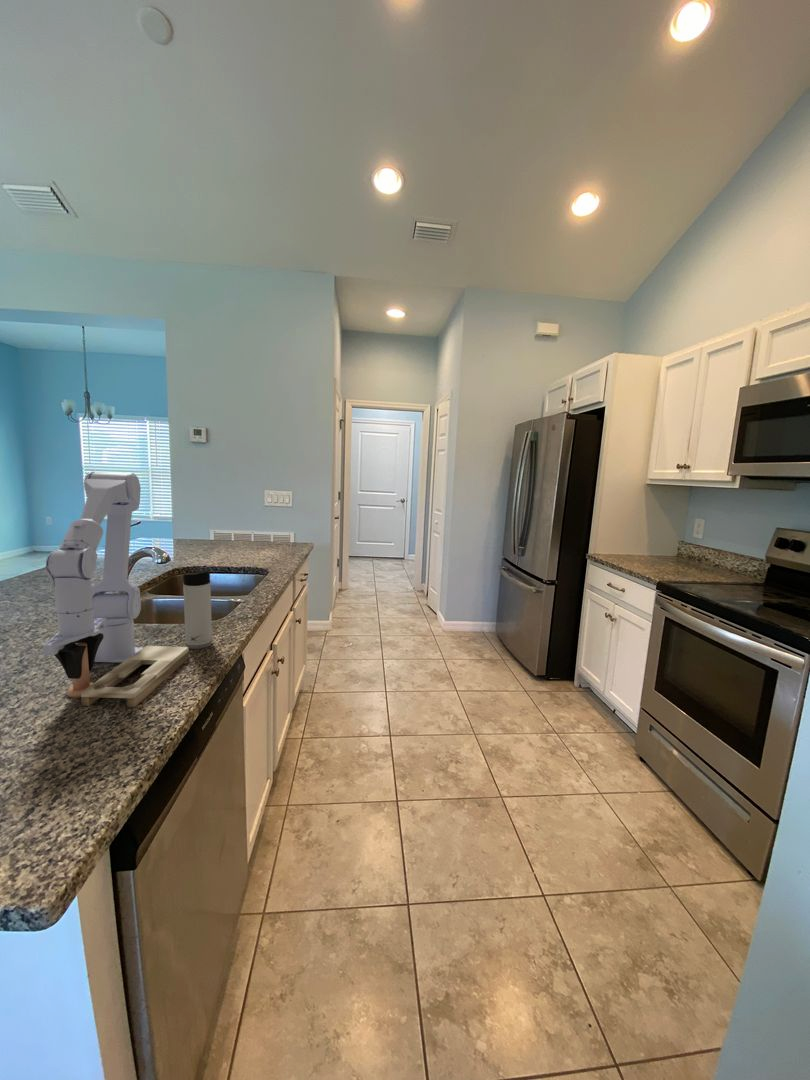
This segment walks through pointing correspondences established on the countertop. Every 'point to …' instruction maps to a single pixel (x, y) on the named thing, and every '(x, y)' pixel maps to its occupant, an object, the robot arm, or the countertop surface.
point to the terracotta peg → (84, 679)
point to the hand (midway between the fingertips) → (80, 673)
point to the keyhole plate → (162, 667)
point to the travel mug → (197, 609)
